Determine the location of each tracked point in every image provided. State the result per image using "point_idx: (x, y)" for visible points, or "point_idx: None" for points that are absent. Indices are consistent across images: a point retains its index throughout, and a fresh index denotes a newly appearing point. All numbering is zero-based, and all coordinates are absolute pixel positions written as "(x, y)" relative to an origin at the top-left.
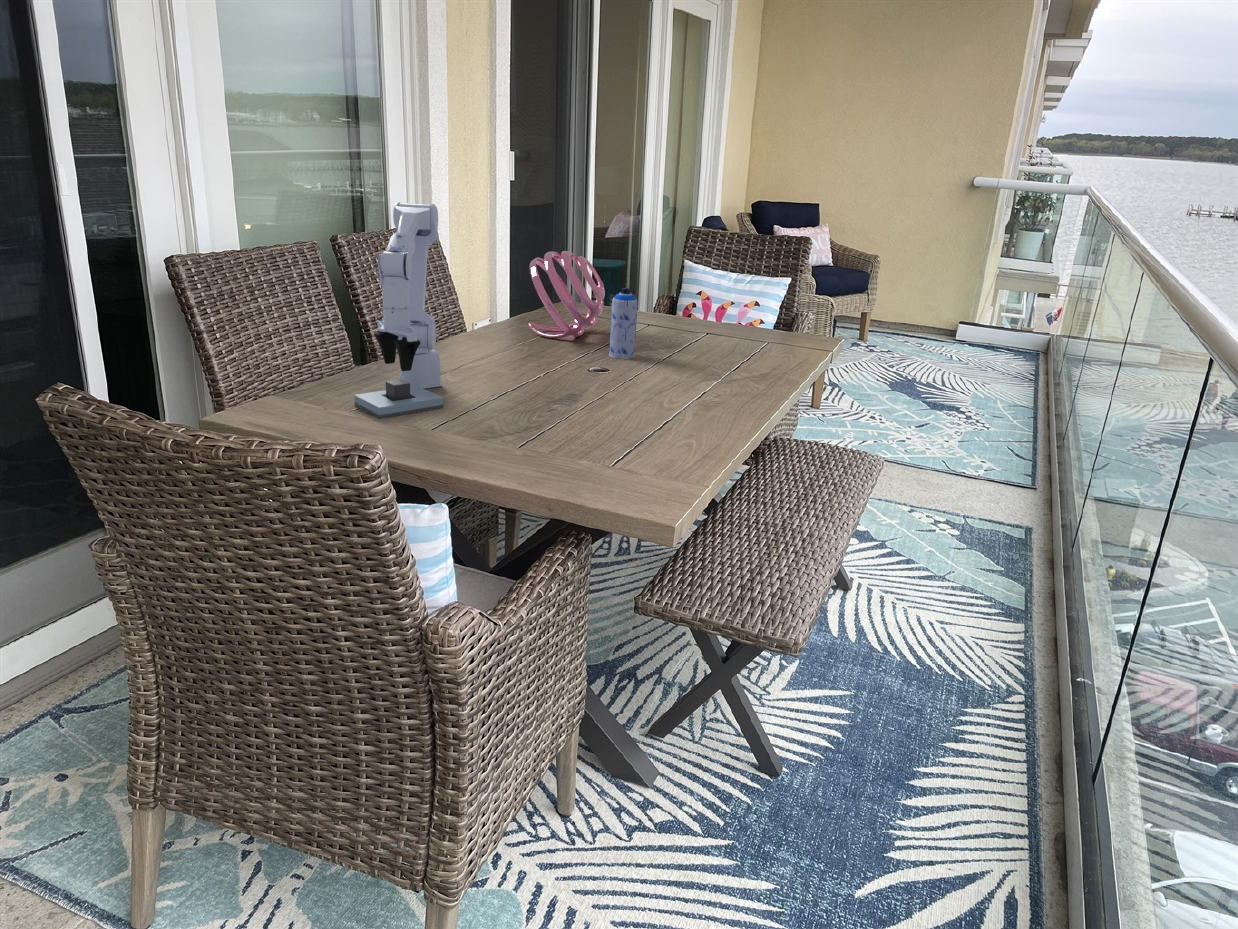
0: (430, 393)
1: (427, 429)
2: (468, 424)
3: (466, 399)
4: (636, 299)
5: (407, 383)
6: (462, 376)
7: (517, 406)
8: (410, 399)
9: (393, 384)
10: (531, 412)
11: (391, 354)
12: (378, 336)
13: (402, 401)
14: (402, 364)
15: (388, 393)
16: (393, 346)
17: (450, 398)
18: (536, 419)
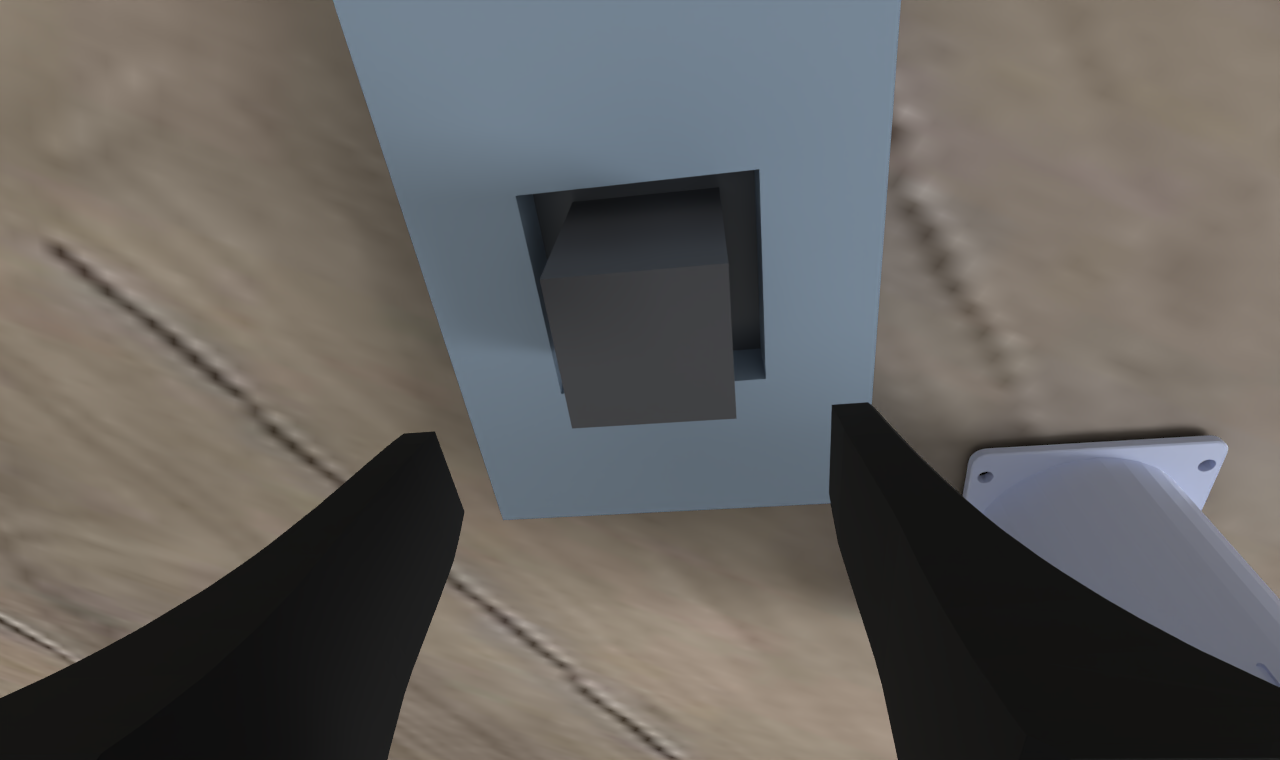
0: (628, 497)
1: (60, 220)
2: (167, 457)
3: (638, 613)
4: None
5: (570, 408)
6: None
7: (442, 710)
8: (523, 335)
9: (575, 288)
10: None
11: (861, 554)
12: (1017, 729)
13: (486, 261)
14: (348, 488)
15: (670, 223)
16: (890, 684)
17: (694, 567)
18: None
